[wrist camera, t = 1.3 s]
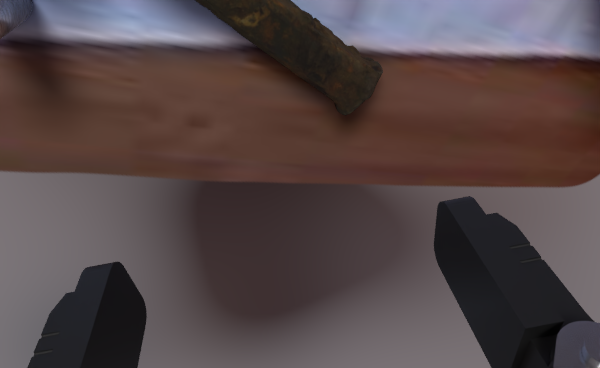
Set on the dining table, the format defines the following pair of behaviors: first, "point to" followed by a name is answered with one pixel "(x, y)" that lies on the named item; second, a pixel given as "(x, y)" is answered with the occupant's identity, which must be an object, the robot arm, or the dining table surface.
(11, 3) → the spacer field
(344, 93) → the dark brown rod
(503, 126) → the dining table surface
